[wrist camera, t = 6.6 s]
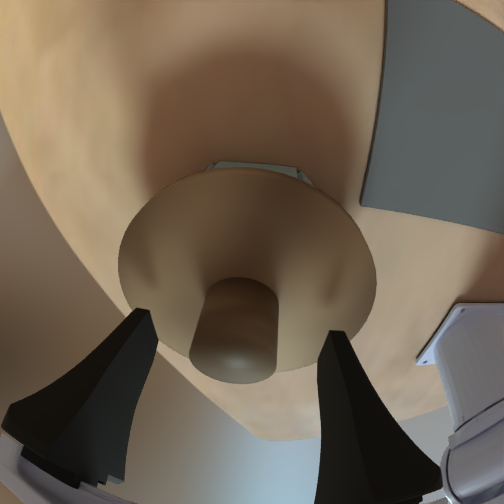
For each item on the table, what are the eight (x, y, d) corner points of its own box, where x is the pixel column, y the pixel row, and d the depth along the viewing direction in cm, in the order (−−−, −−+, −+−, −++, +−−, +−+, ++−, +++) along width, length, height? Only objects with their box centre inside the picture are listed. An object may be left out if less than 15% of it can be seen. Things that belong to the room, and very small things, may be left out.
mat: (544, 70, 6) (547, 71, 5) (509, 234, 13) (511, 236, 13) (385, -26, 6) (387, -28, 6) (359, 203, 14) (360, 206, 13)
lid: (410, 199, 9) (458, 257, 6) (327, 370, 16) (330, 424, 13) (111, 156, 9) (48, 197, 6) (144, 342, 16) (124, 392, 13)
